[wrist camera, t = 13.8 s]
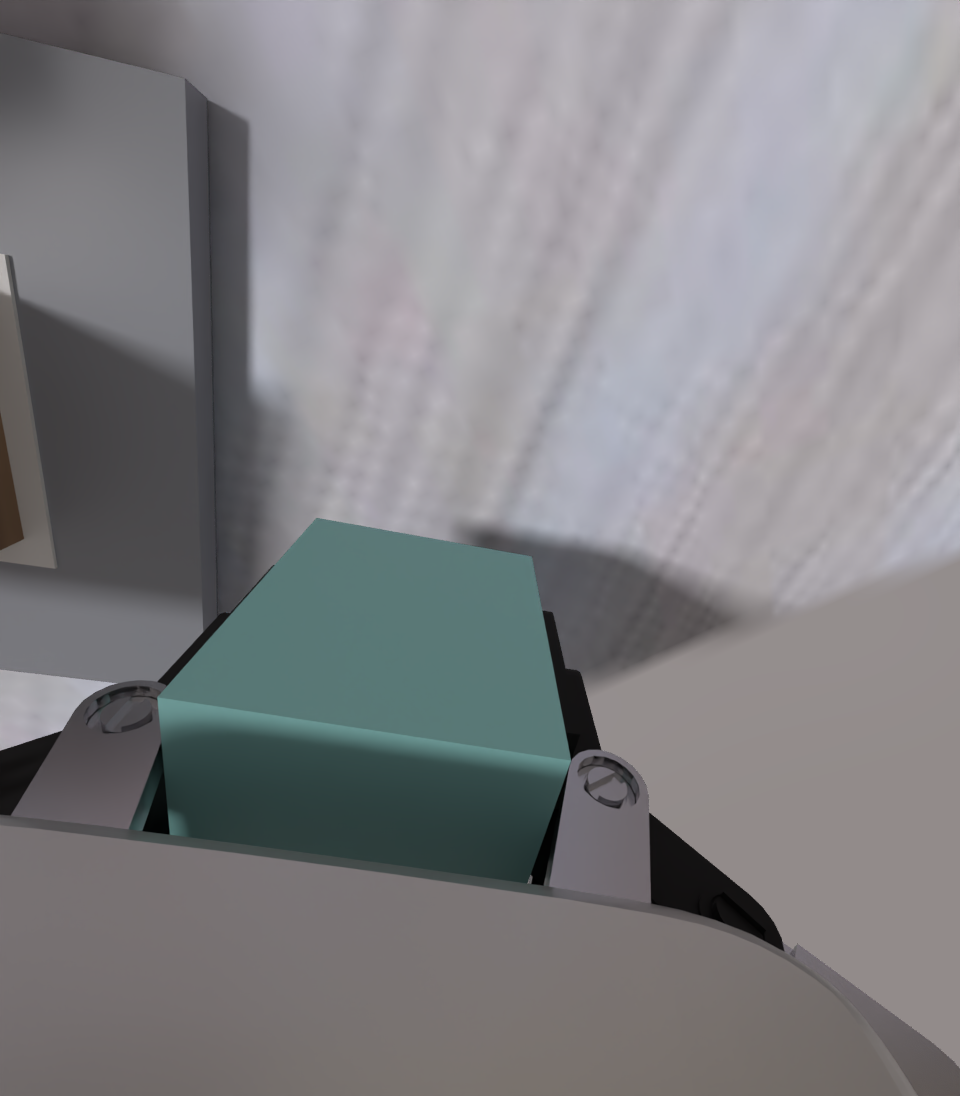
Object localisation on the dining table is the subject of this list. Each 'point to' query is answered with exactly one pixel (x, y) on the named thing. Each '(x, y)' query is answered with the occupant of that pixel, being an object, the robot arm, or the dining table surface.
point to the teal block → (374, 709)
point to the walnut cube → (8, 499)
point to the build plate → (104, 365)
